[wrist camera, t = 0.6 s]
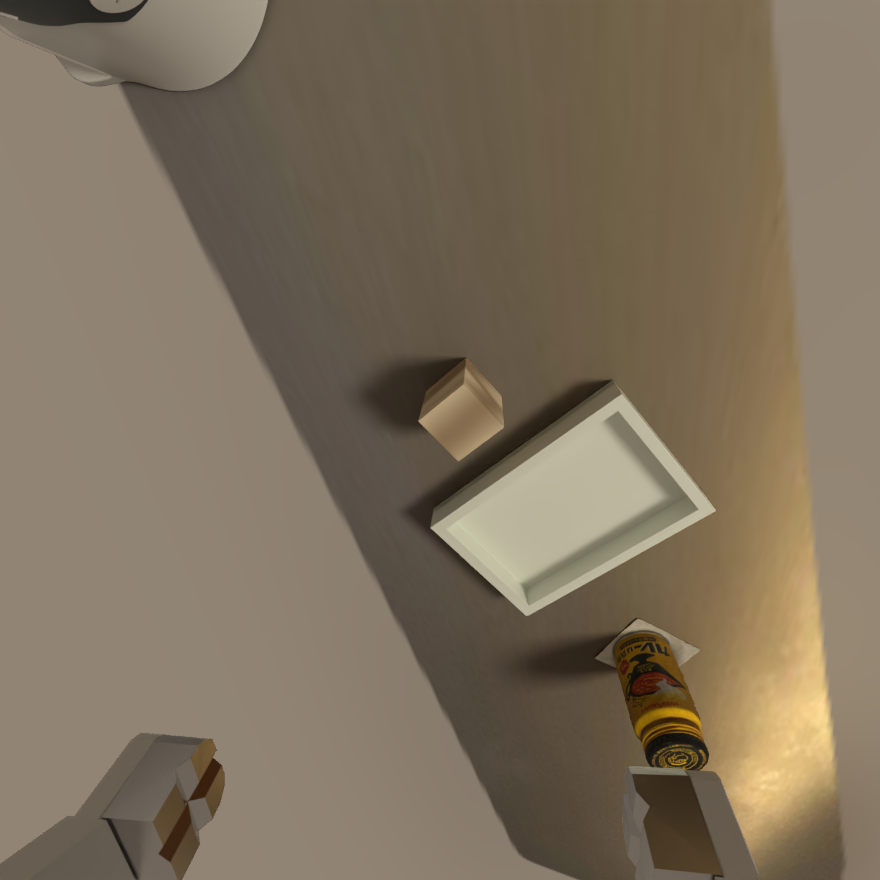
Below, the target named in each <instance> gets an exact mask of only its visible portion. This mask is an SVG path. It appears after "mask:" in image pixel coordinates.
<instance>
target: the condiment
mask: <svg viewBox="0 0 880 880" xmlns="http://www.w3.org/2000/svg"><path fill="white" fill-rule="evenodd" d="M699 651H700V649H698V648H696V647H694V646H692V645H690V644H687V643H685V642H684V641H682V640H679V639H677V638H676V637H674V636H672V635H670V634H669V633H667V632H665V631H663V630H661V629H659V628H657V627H655V626H653V625H651V624H648V623H647V622H645V621H642V620H640V619H637V620H635V621H634V622H633V623H632V624H631V625H629V626H628V628H626V629H625V630H624V631H623V632H622V633H621V634H619V635H618V636H617V637H616V638H615V639H614V640H613V641H612V642H611V643H610V644H609V645H608V646H607V647H606V648H605V649H604V650H603V651H602V652H601V653H600V654H599V655H598V656H597V657H595V659H597V660H599V661H601V662H604V663H606V664H608V665H610V666H612V667H615V668H616V669H617V671H618V675H619V679H620V682H621V685H622V689H623V693H624V696H625V701H626V704H627V707H628V711H629V714H630V719H631V721H632V726H633V728H634V731H635V734H636V736H637V737H638V738H639V740H640V741H641V742H642V747H643V750H644V751H645V755H646V759H647V761H648V763H649V765H650V766H651V767H654V768H675V769H683V770H693V771H699V770H700V769H702V768H703V767H704V766H705V765H706V764H707V762H708V758H709V753H708V750H707V747H706V745H705V743H704V739H703V736H702V733H701V722H700V717H699V714H698V712H697V711H696V707H695V706H694V702H693V700H692V697H691V695H690V693H689V690H688V686H687V685H686V683H685V681H684V676H683V674H682V673H681V671H680V669H679V667H680V665H681V664H683V663H685V662H686V661H688V660H689V659H690V658H691V657H692V656H694V655H695V654H697V653H698V652H699Z"/></svg>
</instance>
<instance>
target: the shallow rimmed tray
mask: <svg viewBox="0 0 880 880" xmlns="http://www.w3.org/2000/svg"><path fill="white" fill-rule="evenodd" d="M715 511H716V510H715V509H714V507H713V506H712V504H711V503H710V501H709V500H708V499H707V497H706V496H705V494H704V493H703V491H702V490H701V489H700V488H699V486H698V485H697V484H696V483H695V481H694V480H693V479H692V478H691V476H690V475H689V474H688V473H687V471H686V470H685V469H684V468H683V466H682V465H681V464H680V463H679V462H678V460H677V459H676V458H675V457H674V455H673V454H672V453H671V452H670V450H669V449H668V448H667V447H666V445H665V444H664V443H663V442H662V440H661V439H660V438H659V437H658V435H657V434H656V433H655V432H654V430H653V429H652V428H651V427H650V425H649V424H648V423H647V422H646V420H645V419H644V418H643V417H642V415H641V414H640V413H639V412H638V410H637V409H636V408H635V407H634V405H633V404H632V403H631V402H630V400H629V399H628V398H627V397H626V395H625V394H624V393H623V392H622V390H621V389H620V388H619V387H618V385H617V384H616V383H615V382H614V380H612V381H611V382H609V383H608V384H606V385H605V386H604V387H602V388H601V389H599V390H598V391H597V392H595V393H594V394H592V395H591V396H590V397H588V398H587V399H585V400H584V401H583V402H581V403H580V404H578V405H577V406H576V407H574V408H573V409H572V410H570V411H569V412H567V413H566V414H565V415H563V416H562V417H560V418H559V419H558V420H556V421H555V422H553V423H552V424H551V425H549V426H548V427H546V428H545V429H544V430H542V431H541V432H539V433H538V434H537V435H535V436H534V437H532V438H531V439H530V440H528V441H527V442H525V443H524V444H523V445H521V446H520V447H518V448H517V449H516V450H514V451H513V452H511V453H510V454H509V455H507V456H506V457H505V458H503V459H502V460H500V461H499V462H498V463H496V464H495V465H493V466H492V467H491V468H489V469H488V470H486V471H485V472H484V473H482V474H481V475H479V476H478V477H477V478H475V479H474V480H472V481H471V482H470V483H468V484H467V485H465V486H464V487H463V488H461V489H460V490H458V491H457V492H456V493H454V494H453V495H451V496H450V497H449V498H447V499H446V500H444V501H443V502H442V503H440V504H439V505H438V506H436V507H435V508H433V514H432V521H431V527H430V528H431V529H432V530H433V531H434V532H435V533H437V534H438V535H439V536H440V537H441V538H442V539H443V540H444V541H445V542H446V543H447V544H449V545H450V546H451V547H452V548H453V549H454V550H455V551H456V552H457V553H458V554H459V555H460V556H462V557H463V558H464V559H465V560H466V561H467V562H468V563H469V564H470V565H471V566H472V567H474V568H475V569H476V570H477V571H478V572H479V573H480V574H481V575H482V576H483V577H484V578H486V579H487V580H488V581H489V582H490V583H491V584H492V585H493V586H494V587H495V588H496V589H497V590H499V591H500V592H501V593H502V594H503V595H504V596H505V597H506V598H507V599H508V600H509V601H511V602H512V603H513V604H514V605H515V606H516V607H517V608H518V609H519V610H520V611H521V612H522V613H524V614H525V615H526V616H528V615H530V614H532V613H534V612H536V611H537V610H539V609H541V608H543V607H544V606H546V605H548V604H550V603H552V602H553V601H555V600H557V599H559V598H561V597H562V596H564V595H566V594H568V593H570V592H571V591H573V590H575V589H577V588H579V587H580V586H582V585H584V584H586V583H587V582H589V581H591V580H593V579H595V578H596V577H598V576H600V575H602V574H604V573H605V572H607V571H609V570H611V569H613V568H614V567H616V566H618V565H620V564H621V563H623V562H625V561H627V560H629V559H630V558H632V557H634V556H636V555H638V554H639V553H641V552H643V551H645V550H647V549H648V548H650V547H652V546H654V545H656V544H657V543H659V542H661V541H663V540H664V539H666V538H668V537H670V536H672V535H673V534H675V533H677V532H679V531H681V530H682V529H684V528H686V527H688V526H690V525H691V524H693V523H695V522H697V521H699V520H700V519H702V518H704V517H706V516H707V515H709V514H711V513H713V512H715Z"/></svg>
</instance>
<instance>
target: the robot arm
mask: <svg viewBox="0 0 880 880" xmlns="http://www.w3.org/2000/svg"><path fill="white" fill-rule="evenodd" d="M267 2H268V0H0V30H1V31H3V32H4V33H6V34H7V35H9V36H11V37H13V38H16V39H18V40H20V41H23V42H25V43H27V44H30V45H32V46H35V47H37V48H40V49H42V50H45V51H47V52H49V53H52V54H54V55H55V56H56V57H57V58H58V60H59V61H60V62H61V63H62V65H63V66H64V67H65V69H66V70H67V71H68V72H69V73H70V75H71V76H72V77H74V78H75V79H77V80H78V81H81V82H83V83H85V84H88V85H91V86H107V85H112V84H116V83H120V82H124V81H131V82H137V83H141V84H144V85H148V86H151V87H155V88H158V89H163V90H170V91H190V90H196V89H200V88H204V87H206V86H209V85H211V84H213V83H215V82H217V81H219V80H221V79H222V78H224V77H225V76H227V75H228V74H229V73H230V72H232V71H233V70H234V69H235V68H236V67H237V66H238V65H239V64H240V62H241V61H242V60H243V59H244V57H245V56H246V55H247V53H248V52H249V50H250V49H251V47H252V45H253V43H254V41H255V39H256V37H257V35H258V33H259V30H260V28H261V25H262V22H263V19H264V15H265V12H266V7H267ZM216 751H217V749H216V747H215V744H214V742H213V739H208V738H196V737H184V736H183V737H182V736H170V735H163V734H148V733H147V734H146V733H140V734H139V735H137V736H136V737H135V738H133V739H132V740H131V741H130V742H129V743H128V745H127V746H126V748H125V749H124V750H123V752H122V753H121V754H120V756H119V757H118V758H117V760H116V761H115V762H114V764H113V765H112V766H111V768H110V769H109V770H108V772H107V773H106V774H105V776H104V777H103V778H102V780H101V781H100V783H99V784H98V785H97V787H96V788H95V789H94V791H93V792H92V793H91V795H90V796H89V797H88V799H87V800H86V802H85V803H84V804H83V805H82V807H81V808H80V809H79V811H78V812H77V814H76V815H75V816H67V817H66V818H64V819H63V820H61V821H60V822H58V823H57V824H55V825H54V826H53V827H51V828H50V829H48V830H47V831H46V832H44V833H43V834H42V835H40V836H39V837H37V838H36V839H34V840H33V841H32V842H30V843H29V844H27V845H26V846H25V847H23V848H22V849H21V850H19V851H18V852H16V853H15V854H13V855H12V856H11V857H9V858H8V859H6V860H5V861H4V862H2V863H1V864H0V880H182V878H183V877H184V875H185V873H186V871H187V869H188V867H189V865H190V863H191V861H192V859H193V857H194V855H195V853H196V850H197V849H198V847H199V845H200V839H199V830H200V829H201V828H202V827H204V826H205V825H206V824H207V823H208V822H210V821H211V820H212V819H213V817H214V815H215V813H216V811H217V808H218V806H219V804H220V802H221V798H222V793H223V790H224V786H225V774H224V771H223V767H222V765H221V764H220V763H219V762H218V761H216V760H215V759H214V758H213V756H214V754H215V752H216ZM625 783H626V788H627V793H625V794H624V795H623V800H622V818H623V830H624V836H625V843H626V848H627V853H628V857H629V858H630V860H631V861H632V862H633V863H634V865H635V866H636V867H637V868H636V876H635V880H761V878H760V875H759V873H758V870H757V868H756V866H755V863H754V861H753V858H752V856H751V853H750V851H749V848H748V846H747V843H746V841H745V838H744V836H743V833H742V831H741V828H740V826H739V823H738V821H737V818H736V816H735V813H734V811H733V808H732V806H731V803H730V801H729V798H728V796H727V794H726V791H725V789H724V786H723V784H722V781H721V779H720V778H719V776H718V775H717V774H716V773H715V772H713V771H693V770H683V769H675V768H654V767H634V766H628V767H627V768H626V771H625Z"/></svg>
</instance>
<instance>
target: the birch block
mask: <svg viewBox="0 0 880 880" xmlns="http://www.w3.org/2000/svg"><path fill="white" fill-rule="evenodd" d="M418 421H419V422H420V423H421V424H422V425H423V426H424V427H425V428H426V429H427V430H428V431H429V432H430V433H431V434H432V435H433V436H434V437H435V438H436V439H437V440H438V441H439V442H440V443H441V444H442V446H443V447H444V448H445V449H446V450H447V451H448V452H449V453H450V454H451V455H452V456H453V457H454V458H455V459H456V460H457V461H460V460H461V459H462V458H464V457H465V456H466V455H468V454H469V453H470V452H472V451H473V450H474V449H476V448H477V447H478V446H480V445H481V444H482V443H484V442H485V441H486V440H488V439H489V438H490V437H492V436H493V435H495V434H496V433H497V432H499V431H500V430H501V429H503V428H504V420H503V409H502V397H501V395H500V394H499V393H498V392H497V391H496V390H495V389H494V387H493V386H492V385H491V384H490V383H489V382H488V381H487V380H486V379H485V377H484V376H483V375H482V374H481V373H480V372H479V371H478V370H477V369H476V368H475V366H474V365H473V364H472V363H471V362H470V361H469V360H468V359H467V358H465V359H464V360H462V361H461V362H460V363H459V364H458V365H456V366H455V367H454V368H453V369H452V370H451V371H449V372H448V373H447V374H446V375H445V376H443V377H442V378H441V379H440V380H439V381H437V382H436V383H435V384H434V385H433V386H431V387H430V388H429V389H428V390H427V391H426V394H425V397H424V401H423V405H422V409H421V413H420V416H419V420H418Z"/></svg>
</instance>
